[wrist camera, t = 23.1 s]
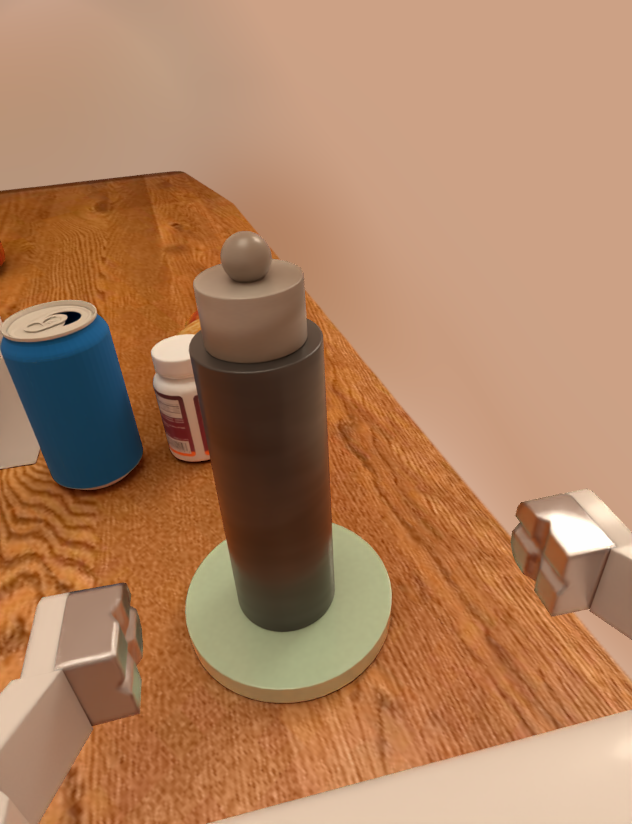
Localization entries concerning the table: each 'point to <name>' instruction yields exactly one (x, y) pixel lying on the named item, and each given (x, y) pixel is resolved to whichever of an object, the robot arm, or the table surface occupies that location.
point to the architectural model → (14, 424)
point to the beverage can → (72, 392)
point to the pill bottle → (179, 399)
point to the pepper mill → (266, 432)
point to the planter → (2, 255)
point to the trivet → (295, 650)
